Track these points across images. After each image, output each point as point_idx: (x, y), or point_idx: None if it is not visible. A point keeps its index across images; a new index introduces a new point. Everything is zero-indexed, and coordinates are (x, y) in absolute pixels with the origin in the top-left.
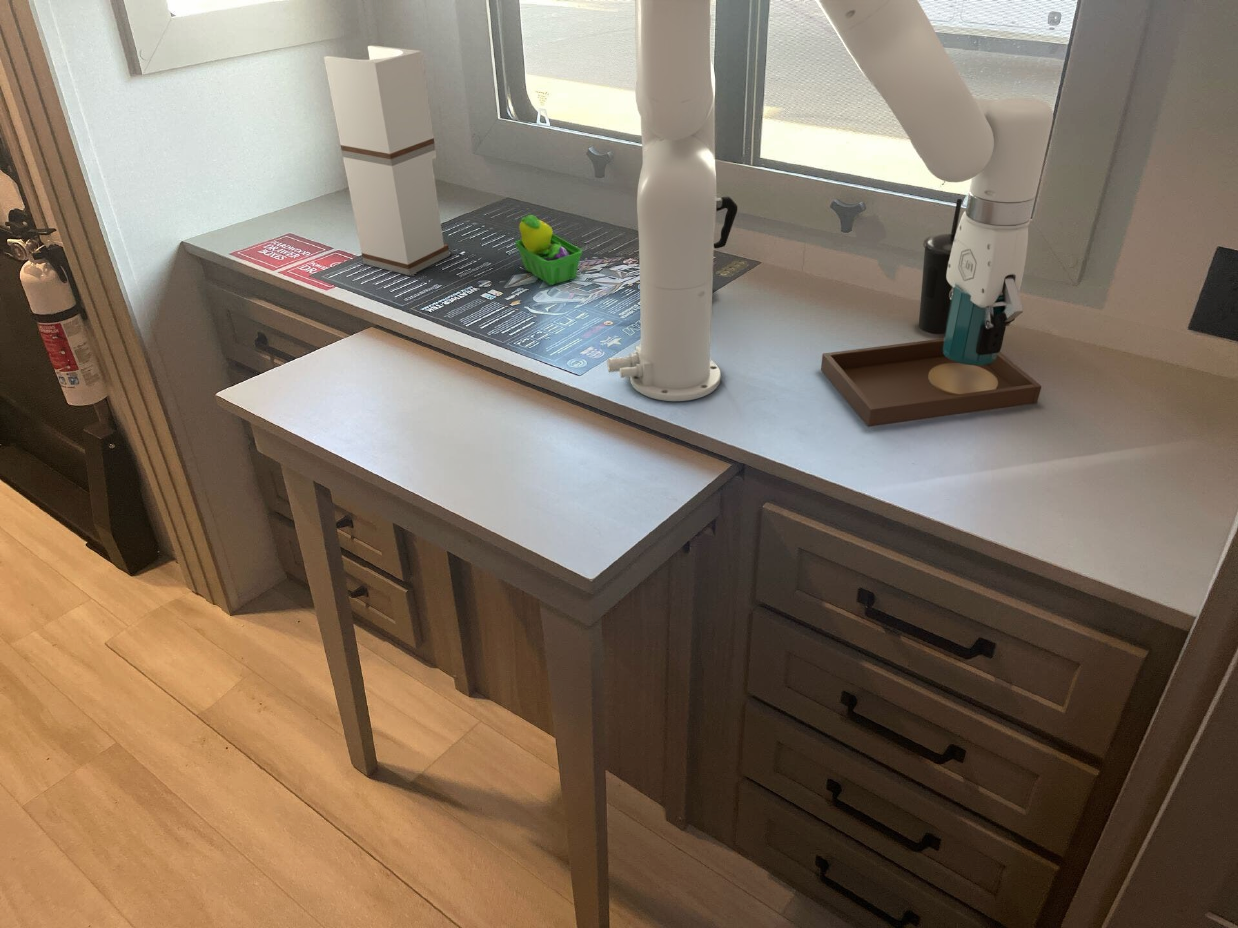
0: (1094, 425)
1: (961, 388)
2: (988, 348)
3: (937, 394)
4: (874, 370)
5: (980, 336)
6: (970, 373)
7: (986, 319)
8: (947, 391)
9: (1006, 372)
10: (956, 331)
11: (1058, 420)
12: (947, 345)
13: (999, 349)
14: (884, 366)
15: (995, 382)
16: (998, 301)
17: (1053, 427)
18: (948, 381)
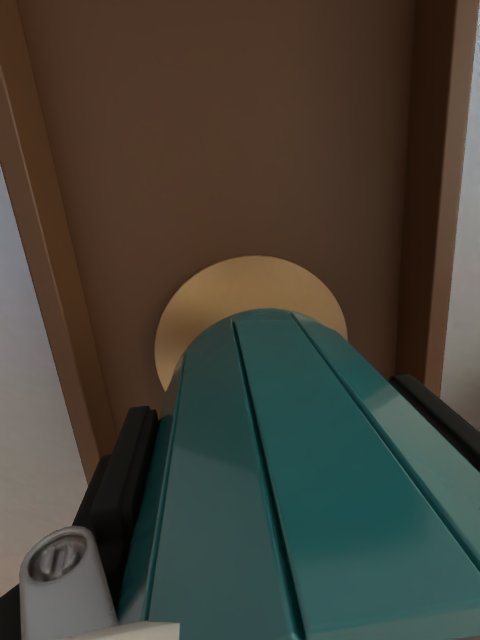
0: (24, 549)
1: (196, 327)
2: (100, 459)
3: (182, 247)
4: (374, 92)
5: (115, 462)
6: None
7: (75, 575)
8: (186, 281)
9: None
10: (230, 371)
11: (47, 492)
12: (265, 322)
13: None
14: (390, 143)
15: None
16: None
17: (13, 472)
18: (243, 307)
